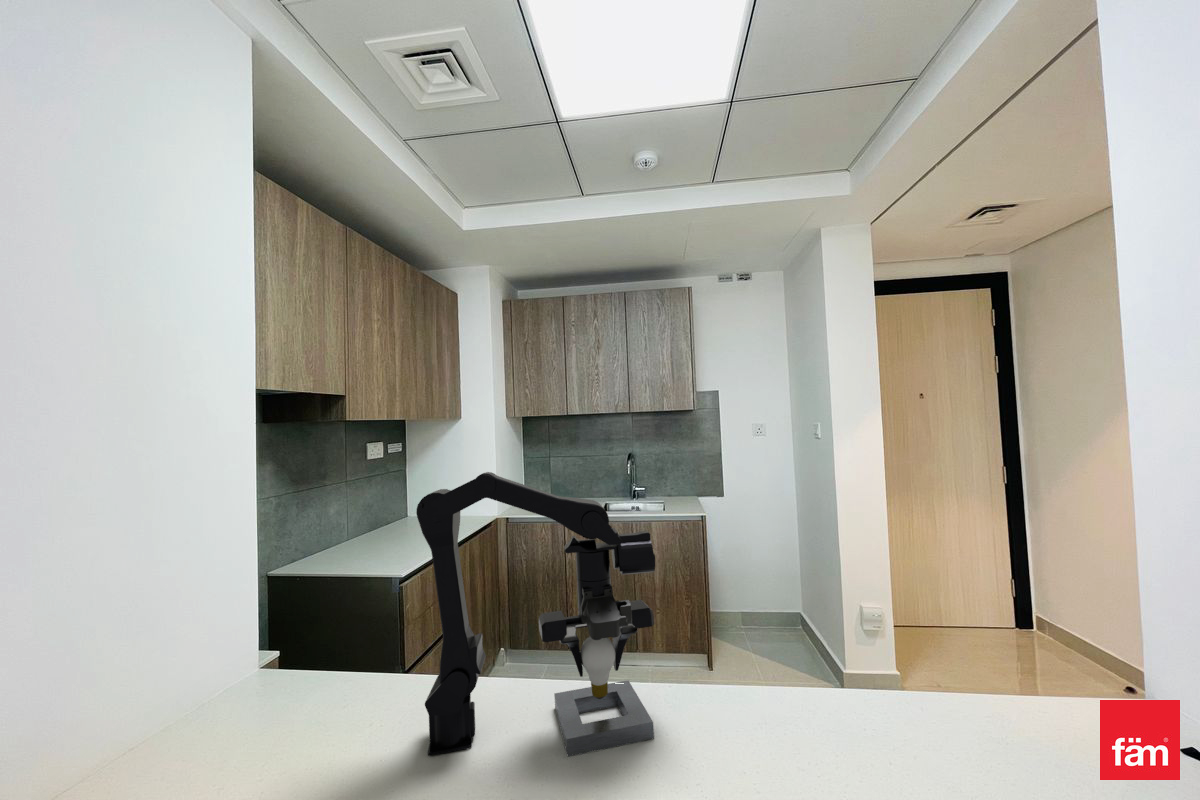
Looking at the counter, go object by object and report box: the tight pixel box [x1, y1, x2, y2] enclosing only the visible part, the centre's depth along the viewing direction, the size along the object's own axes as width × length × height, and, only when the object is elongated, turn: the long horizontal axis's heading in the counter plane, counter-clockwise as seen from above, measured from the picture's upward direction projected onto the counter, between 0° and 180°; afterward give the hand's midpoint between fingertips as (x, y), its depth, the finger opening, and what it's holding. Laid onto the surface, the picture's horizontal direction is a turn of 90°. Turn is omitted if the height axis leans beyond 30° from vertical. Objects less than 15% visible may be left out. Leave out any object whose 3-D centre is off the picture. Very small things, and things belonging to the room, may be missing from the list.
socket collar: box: [554, 679, 655, 757], centre depth 80 cm, size 14×14×2 cm
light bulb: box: [580, 636, 615, 699], centre depth 81 cm, size 6×6×10 cm
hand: (598, 672), depth 81 cm, fingers closed on light bulb, 6 cm apart
